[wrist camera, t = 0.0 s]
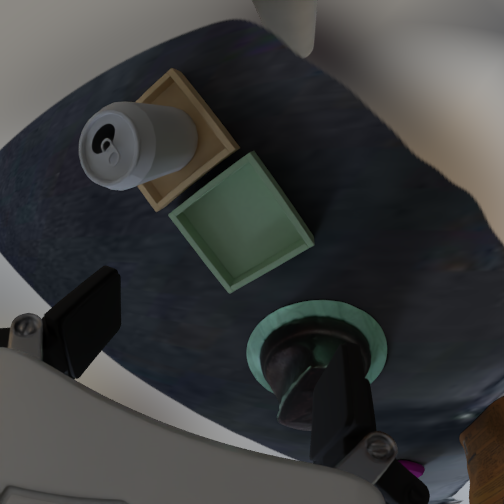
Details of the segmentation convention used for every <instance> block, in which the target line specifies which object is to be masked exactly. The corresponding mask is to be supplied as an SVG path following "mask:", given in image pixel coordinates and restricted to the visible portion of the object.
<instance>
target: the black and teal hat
mask: <svg viewBox="0 0 504 504" xmlns="http://www.w3.org/2000/svg"><path fill="white" fill-rule="evenodd" d="M345 342H350V343H355V344H359V345H360V349H361V355H362V361H363V367H364V373H365V378H367V379H368V380H369V382H370V384H371V383H372V382H373V381H374V380H375V379H376V378H377V376H378V375H379V374H380V372H381V371H382V369H383V367H384V364H385V361H386V357H387V343H386V338H385V335H384V334H383V330H382V328H381V327H380V325H379V324H378V323H377V322H376V321H375V320H374V319H373V318H372V317H371V316H370V315H369V314H367V313H366V312H364V311H362V310H360V309H358V308H356V307H354V306H351V305H349V304H347V303H343V302H338V301H329V300H311V301H305V302H300V303H296V304H293V305H289V306H286V307H283V308H280V309H278V310H276V311H275V312H273V313H272V314H270V315H268V316H267V317H266V318H265V319H263V320H262V321H261V322H260V323H259V324H258V325H257V326H256V328H255V329H254V331H253V332H252V334H251V336H250V338H249V341H248V345H247V361H248V365H249V367H250V370H251V371H252V373H253V375H254V376H255V378H256V379H257V381H258V382H259V383H260V384H261V385H262V386H264V387H265V388H266V389H267V390H269V391H271V392H272V393H274V394H275V396H276V398H277V399H278V401H279V404H280V406H279V409H280V411H279V412H278V415H277V421H278V422H279V423H280V424H283V425H285V426H288V427H291V428H294V429H299V430H306V431H309V430H310V431H311V430H312V410H313V392H314V388H315V386H316V384H317V382H318V381H319V379H320V377H321V376H322V374H323V372H324V371H325V369H326V367H327V365H328V364H329V362H330V360H331V359H332V357H333V355H334V353H335V351H336V350H337V348H338V346H339V345H340V344H344V343H345Z"/></svg>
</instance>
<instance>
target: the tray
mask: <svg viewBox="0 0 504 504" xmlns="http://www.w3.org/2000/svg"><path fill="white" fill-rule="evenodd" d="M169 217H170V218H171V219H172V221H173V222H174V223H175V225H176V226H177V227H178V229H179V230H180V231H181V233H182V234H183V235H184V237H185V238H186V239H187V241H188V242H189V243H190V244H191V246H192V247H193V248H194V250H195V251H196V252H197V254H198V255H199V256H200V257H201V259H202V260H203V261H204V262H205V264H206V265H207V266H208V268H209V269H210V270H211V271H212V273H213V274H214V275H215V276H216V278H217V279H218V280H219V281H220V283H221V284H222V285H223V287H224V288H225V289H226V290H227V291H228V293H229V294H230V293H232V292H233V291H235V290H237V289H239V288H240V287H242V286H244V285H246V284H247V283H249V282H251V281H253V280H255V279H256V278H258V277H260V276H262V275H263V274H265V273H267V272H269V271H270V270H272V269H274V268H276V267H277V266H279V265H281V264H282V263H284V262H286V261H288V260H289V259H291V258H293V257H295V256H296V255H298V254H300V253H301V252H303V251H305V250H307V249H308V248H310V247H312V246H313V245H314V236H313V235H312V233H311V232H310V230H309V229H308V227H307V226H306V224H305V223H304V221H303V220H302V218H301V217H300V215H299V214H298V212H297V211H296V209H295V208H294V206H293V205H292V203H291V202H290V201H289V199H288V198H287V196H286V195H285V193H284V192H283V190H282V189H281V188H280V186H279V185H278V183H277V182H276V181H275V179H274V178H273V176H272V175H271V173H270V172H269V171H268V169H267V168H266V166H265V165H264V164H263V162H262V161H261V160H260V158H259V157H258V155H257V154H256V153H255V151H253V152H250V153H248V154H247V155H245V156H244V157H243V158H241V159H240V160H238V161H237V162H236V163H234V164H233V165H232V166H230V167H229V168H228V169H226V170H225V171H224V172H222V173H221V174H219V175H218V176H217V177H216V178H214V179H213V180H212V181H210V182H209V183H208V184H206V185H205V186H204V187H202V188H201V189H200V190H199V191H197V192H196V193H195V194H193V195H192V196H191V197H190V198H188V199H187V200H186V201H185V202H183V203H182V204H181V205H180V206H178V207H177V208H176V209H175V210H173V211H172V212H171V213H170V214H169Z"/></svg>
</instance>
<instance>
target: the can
mask: <svg viewBox="0 0 504 504" xmlns="http://www.w3.org/2000/svg"><path fill="white" fill-rule="evenodd" d="M197 144H198V133H197V129H196V125H195V123H194V122H193V120H192V118H191V117H190V116H189V115H188V114H187V113H185V112H184V111H183V110H181V109H178V108H175V107H170V106H162V105H154V104H145V103H135V102H115V103H112V104H110V105H108V106H106V107H104V108H102V109H101V110H100V111H99V112H98V113H96V114H94V115H93V116H92V117H91V118H90V119H89V120H88V121H87V123H86V125H85V127H84V128H83V130H82V133H81V137H80V141H79V157H80V161H81V165H82V167H83V169H84V171H85V173H86V175H87V176H88V177H89V178H90V179H91V180H92V181H93V182H95V183H97V184H99V185H101V186H105V187H107V188H109V189H111V190H121V191H122V190H126V189H129V188H132V187H135V186H138V185H140V184H143V183H145V182H148V181H151V180H154V179H156V178H159V177H162V176H165V175H167V174H170V173H173V172H176V171H179V170H180V169H182V168H183V167H185V166H186V165H187V164H188V163H189V162H190V160H191V159H192V158H193V157H194V154H195V151H196V149H197Z"/></svg>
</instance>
